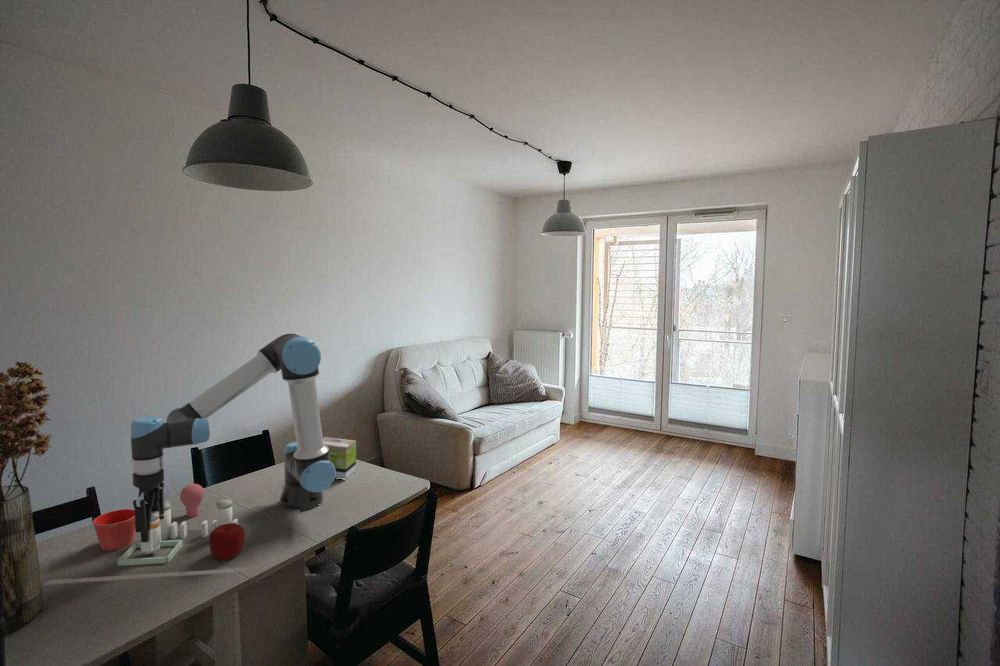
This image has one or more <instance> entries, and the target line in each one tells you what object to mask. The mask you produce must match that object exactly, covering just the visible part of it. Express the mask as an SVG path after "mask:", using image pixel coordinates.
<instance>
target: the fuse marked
mask: <svg viewBox="0 0 1000 666" xmlns="http://www.w3.org/2000/svg"><path fill="white" fill-rule="evenodd" d="M159 525H160V519H159V512H158V511H151V523H150V529H152V542H153V550H152V551H148V552H141V553H142V554H144V555H150V554H154V553H156V552H158V551H160V550H161V547H160V528H159Z"/></svg>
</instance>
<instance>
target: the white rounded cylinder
mask: <svg viewBox="0 0 1000 666" xmlns="http://www.w3.org/2000/svg"><path fill="white" fill-rule="evenodd" d="M215 505H216V520H217V527H218V526H221V525H224V524H229V523H232V522H233V521H234V519H233V499H231V498H222V499H219V500H218V501H216V502H215Z"/></svg>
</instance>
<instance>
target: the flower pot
mask: <svg viewBox="0 0 1000 666" xmlns="http://www.w3.org/2000/svg"><path fill="white" fill-rule="evenodd" d="M92 523H93V526H94V529H95V533H96V536H97V540H98V543H99V547H100V549H101V550H103V551H116V550H120V549H124V548H126V547H128V546H130V545H131V544H132V543H133V542H134V540H135V536H136V535H135V534H136V529H135V509H134V508H125V509H117V510H112V511H107V512H105V513H103V514H100V515H99V516H97V517H96V518H95V519H93V521H92Z"/></svg>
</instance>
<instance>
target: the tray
mask: <svg viewBox="0 0 1000 666" xmlns="http://www.w3.org/2000/svg"><path fill="white" fill-rule="evenodd" d="M182 546H184V543H183V540H168V541H160V548H162V547H163V548H165V547H173V549H172V550H171V551H170V552H169V553H168V555H167V556H158V557H156V556H155V557H140V558H139V557H138V558H129V557H130V555H132V554H133V553H134V552H135V550H137V549H141V541H135V542H134V543H133V544H132V545H131V546H130V547H129V548H128V549H127V550H126V551H125V552H124V553H123V554H122V555H121V556H120V557H119V558H118V559H117V560H116V564H117V565H116V567H117V566H118V567H119V566H121V567H122V566H137V565H152V564H153V565H157V564H169V563H170V561H172V559H173V558H174V556H175V555H176V554H177V553H178V552H179V550H180V549H181V548H182Z"/></svg>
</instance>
